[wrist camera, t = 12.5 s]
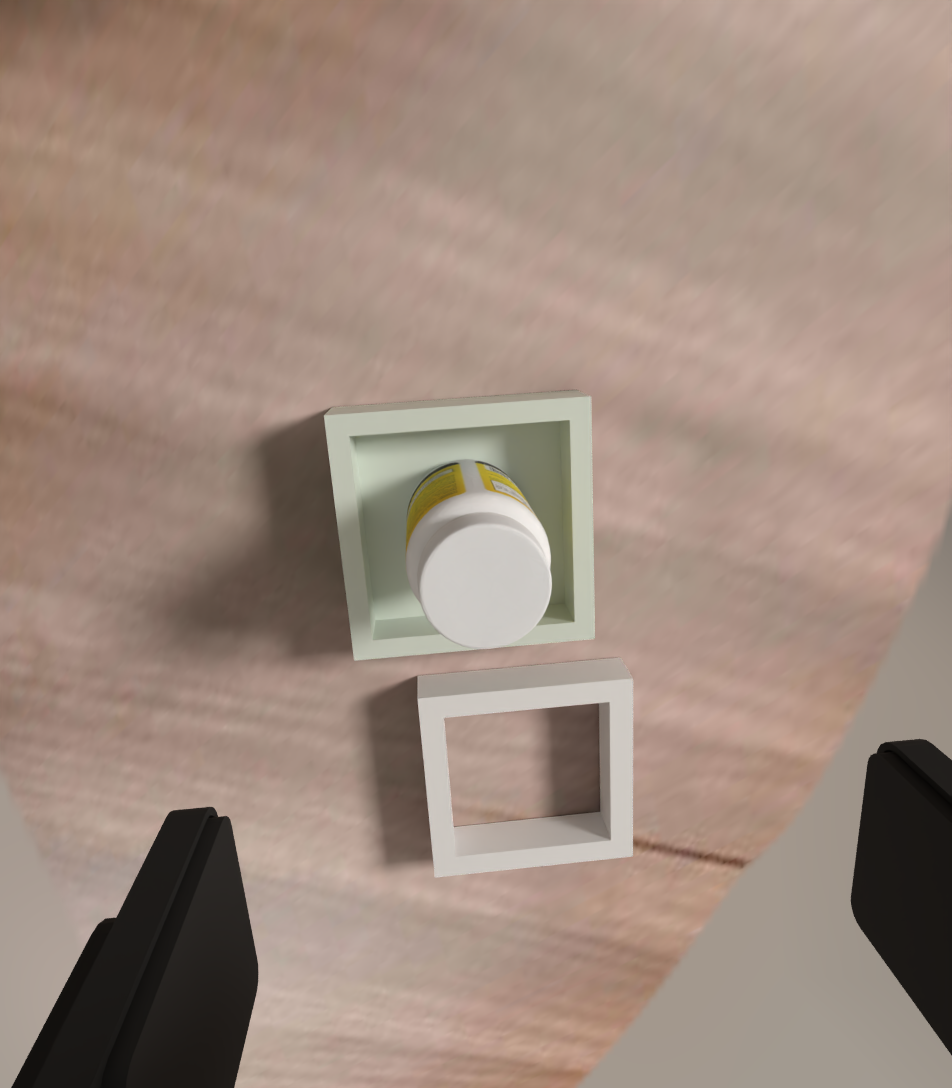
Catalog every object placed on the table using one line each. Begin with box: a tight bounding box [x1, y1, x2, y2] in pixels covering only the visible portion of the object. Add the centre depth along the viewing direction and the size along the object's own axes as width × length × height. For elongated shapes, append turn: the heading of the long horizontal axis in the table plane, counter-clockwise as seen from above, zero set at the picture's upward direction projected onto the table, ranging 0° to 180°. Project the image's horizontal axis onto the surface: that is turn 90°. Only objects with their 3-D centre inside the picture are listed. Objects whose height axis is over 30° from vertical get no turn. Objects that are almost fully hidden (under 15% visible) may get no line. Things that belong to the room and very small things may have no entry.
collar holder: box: [418, 657, 633, 877], centre depth 33 cm, size 9×9×2 cm
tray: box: [324, 390, 595, 661], centre depth 29 cm, size 10×10×2 cm
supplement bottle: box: [406, 459, 552, 649], centre depth 26 cm, size 5×5×8 cm
